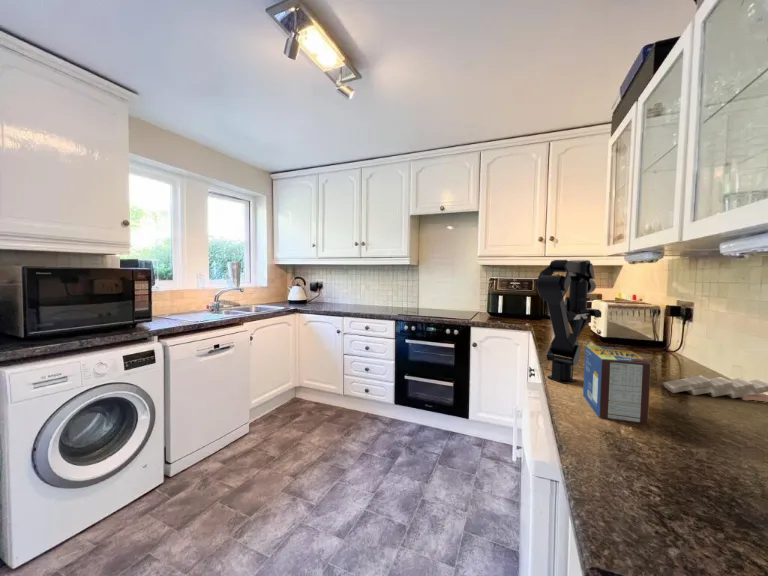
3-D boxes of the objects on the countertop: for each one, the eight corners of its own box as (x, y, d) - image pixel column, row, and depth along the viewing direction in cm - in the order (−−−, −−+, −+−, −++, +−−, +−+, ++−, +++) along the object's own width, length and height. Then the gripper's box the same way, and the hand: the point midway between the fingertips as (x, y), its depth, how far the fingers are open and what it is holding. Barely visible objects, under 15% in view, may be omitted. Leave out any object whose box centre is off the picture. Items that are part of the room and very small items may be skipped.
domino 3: (710, 391, 94) (753, 383, 91) (700, 385, 99) (740, 377, 95) (712, 396, 94) (755, 388, 90) (702, 390, 99) (742, 382, 95)
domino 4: (730, 393, 93) (773, 384, 89) (718, 387, 97) (760, 378, 94) (732, 398, 93) (776, 390, 89) (720, 392, 97) (762, 384, 94)
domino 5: (742, 395, 92) (789, 400, 89) (730, 389, 97) (774, 394, 94) (742, 400, 92) (788, 406, 89) (730, 394, 97) (774, 399, 94)
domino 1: (671, 388, 97) (710, 380, 94) (663, 382, 102) (700, 375, 98) (673, 393, 97) (713, 385, 94) (664, 387, 102) (702, 380, 98)
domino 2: (691, 390, 95) (732, 382, 92) (681, 384, 100) (720, 376, 97) (693, 395, 95) (734, 387, 92) (683, 389, 100) (722, 381, 97)
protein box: (623, 400, 91) (626, 347, 90) (648, 425, 76) (652, 362, 76) (582, 395, 94) (584, 344, 93) (598, 418, 80) (601, 358, 79)
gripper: (574, 292, 126) (572, 331, 127) (540, 293, 118) (539, 334, 119) (603, 294, 115) (601, 336, 116) (568, 296, 108) (566, 341, 109)
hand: (576, 337), depth 115 cm, fingers closed
